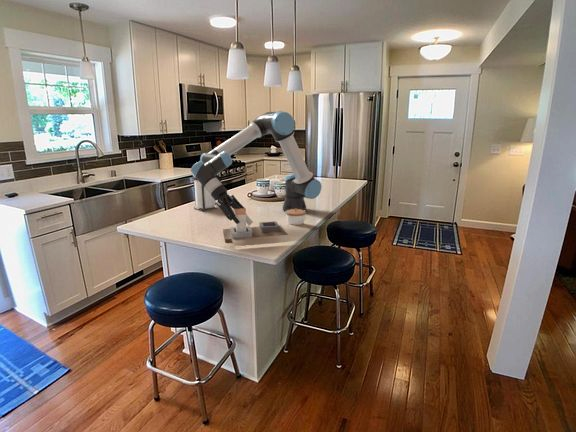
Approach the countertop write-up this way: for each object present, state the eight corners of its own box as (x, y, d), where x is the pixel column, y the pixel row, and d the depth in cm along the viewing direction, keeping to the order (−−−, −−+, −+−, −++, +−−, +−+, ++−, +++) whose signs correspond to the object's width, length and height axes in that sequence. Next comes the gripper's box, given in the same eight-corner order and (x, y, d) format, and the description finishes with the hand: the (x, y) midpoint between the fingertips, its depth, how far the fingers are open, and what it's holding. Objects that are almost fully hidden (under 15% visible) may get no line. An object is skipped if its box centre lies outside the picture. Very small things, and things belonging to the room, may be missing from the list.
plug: (245, 232, 164) (244, 208, 161) (246, 234, 160) (245, 210, 157) (236, 232, 163) (235, 208, 160) (236, 235, 159) (236, 211, 156)
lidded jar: (293, 229, 175) (293, 212, 173) (281, 224, 184) (281, 207, 181) (309, 226, 181) (309, 209, 179) (297, 221, 190) (297, 205, 187)
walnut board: (280, 227, 178) (280, 225, 177) (288, 237, 163) (288, 234, 162) (223, 231, 171) (223, 229, 170) (225, 242, 156) (225, 239, 155)
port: (249, 231, 167) (249, 226, 167) (252, 237, 158) (252, 232, 158) (230, 232, 165) (230, 227, 164) (232, 238, 156) (231, 233, 156)
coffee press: (216, 211, 209) (213, 163, 201) (190, 211, 209) (187, 163, 201) (222, 205, 226) (220, 160, 218) (198, 205, 226) (195, 160, 218)
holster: (276, 225, 176) (276, 221, 175) (279, 230, 168) (279, 226, 167) (259, 227, 174) (259, 222, 173) (262, 232, 166) (262, 227, 165)
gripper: (222, 190, 171) (252, 225, 170) (199, 198, 153) (232, 236, 152) (231, 181, 168) (261, 215, 166) (209, 188, 150) (242, 226, 149)
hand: (247, 225), depth 159 cm, fingers open, 7 cm apart
